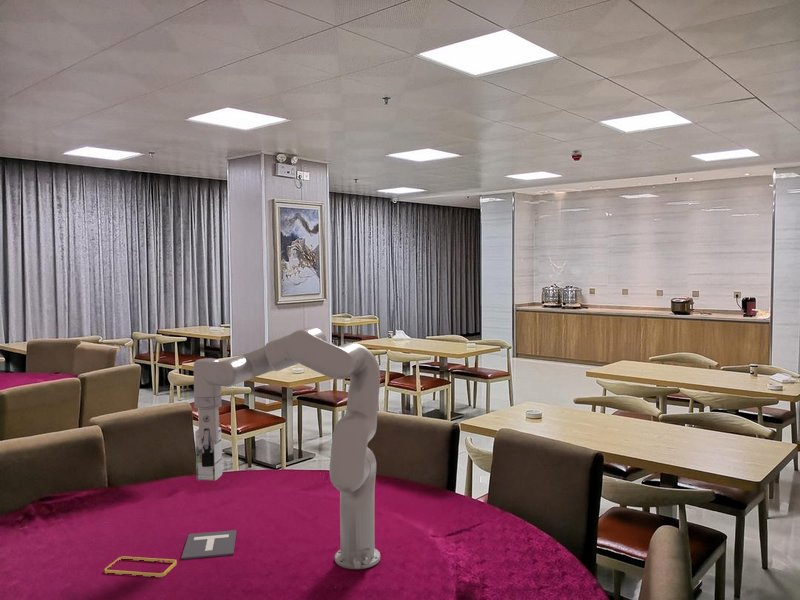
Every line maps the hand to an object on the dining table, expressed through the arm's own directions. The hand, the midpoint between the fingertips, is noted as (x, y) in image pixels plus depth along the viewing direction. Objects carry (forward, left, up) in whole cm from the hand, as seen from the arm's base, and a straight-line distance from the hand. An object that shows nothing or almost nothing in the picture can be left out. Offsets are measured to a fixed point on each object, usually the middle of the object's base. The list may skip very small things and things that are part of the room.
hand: (209, 461), depth 183 cm
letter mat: (0, 0, -25) cm, 25 cm away
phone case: (-11, +17, -25) cm, 32 cm away
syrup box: (0, 0, -5) cm, 5 cm away
